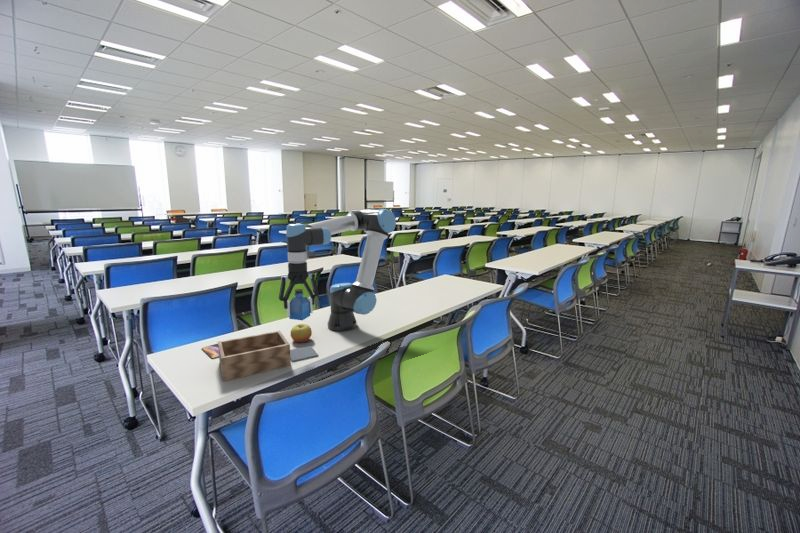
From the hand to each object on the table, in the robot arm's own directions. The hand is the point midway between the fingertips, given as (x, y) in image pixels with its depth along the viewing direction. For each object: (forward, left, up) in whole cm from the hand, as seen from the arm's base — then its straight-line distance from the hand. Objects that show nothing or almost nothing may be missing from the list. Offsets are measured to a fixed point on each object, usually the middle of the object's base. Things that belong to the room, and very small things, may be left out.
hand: (299, 314), depth 145 cm
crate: (+19, -1, -18) cm, 26 cm away
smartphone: (+32, -22, -19) cm, 43 cm away
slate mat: (0, 0, -18) cm, 18 cm away
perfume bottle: (0, 0, -2) cm, 2 cm away
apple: (-4, -15, -19) cm, 24 cm away
